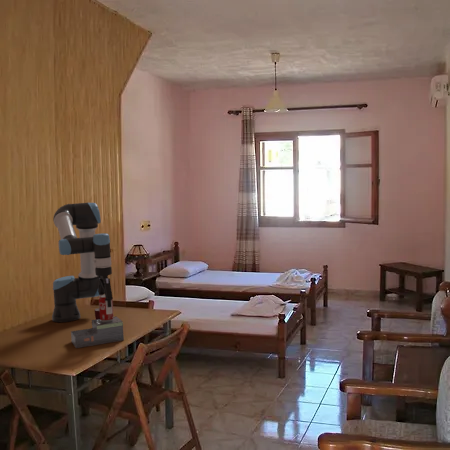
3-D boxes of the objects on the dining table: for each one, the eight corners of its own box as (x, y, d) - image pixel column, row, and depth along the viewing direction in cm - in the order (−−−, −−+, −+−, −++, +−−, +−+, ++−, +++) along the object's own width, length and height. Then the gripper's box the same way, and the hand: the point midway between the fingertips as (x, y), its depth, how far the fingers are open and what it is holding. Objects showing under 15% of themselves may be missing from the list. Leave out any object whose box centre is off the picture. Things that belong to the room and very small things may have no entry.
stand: (71, 344, 262) (70, 319, 261) (117, 337, 271) (116, 313, 270) (76, 351, 251) (74, 325, 250) (124, 343, 260) (122, 318, 259)
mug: (106, 331, 277) (105, 312, 276) (91, 331, 278) (89, 312, 277) (114, 326, 287) (112, 307, 286) (99, 326, 289) (98, 307, 288)
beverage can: (101, 319, 265) (99, 294, 264) (114, 318, 265) (112, 293, 264) (99, 322, 259) (97, 297, 258) (112, 321, 259) (111, 296, 258)
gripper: (90, 264, 270) (92, 306, 272) (100, 271, 247) (104, 317, 249) (105, 262, 273) (108, 304, 275) (117, 269, 250) (120, 315, 252)
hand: (106, 311), depth 262 cm, fingers open, 13 cm apart
